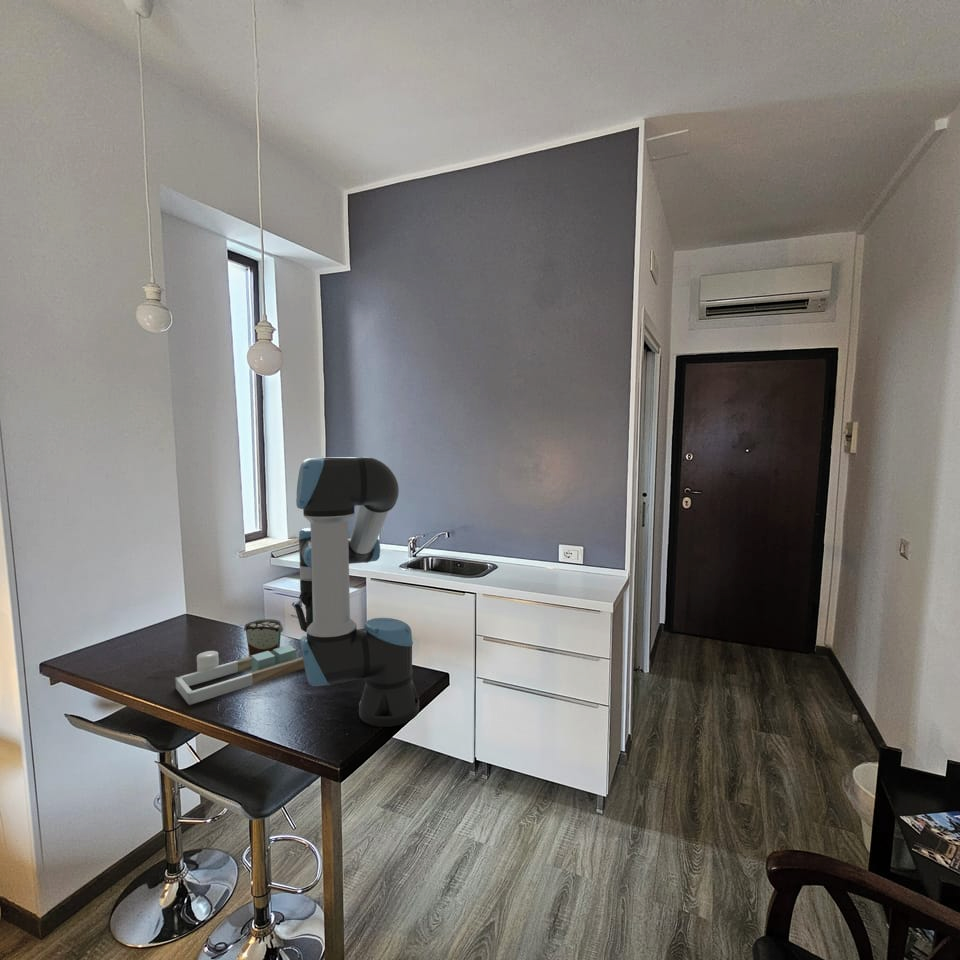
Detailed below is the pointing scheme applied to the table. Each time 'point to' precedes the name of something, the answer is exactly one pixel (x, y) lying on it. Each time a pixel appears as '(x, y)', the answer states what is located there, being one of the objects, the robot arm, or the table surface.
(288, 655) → the pale teal block
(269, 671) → the guide channel
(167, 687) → the table surface
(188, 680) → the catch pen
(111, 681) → the table surface
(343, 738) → the table surface
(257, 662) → the pale teal cube
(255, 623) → the food container
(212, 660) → the white rounded capsule
